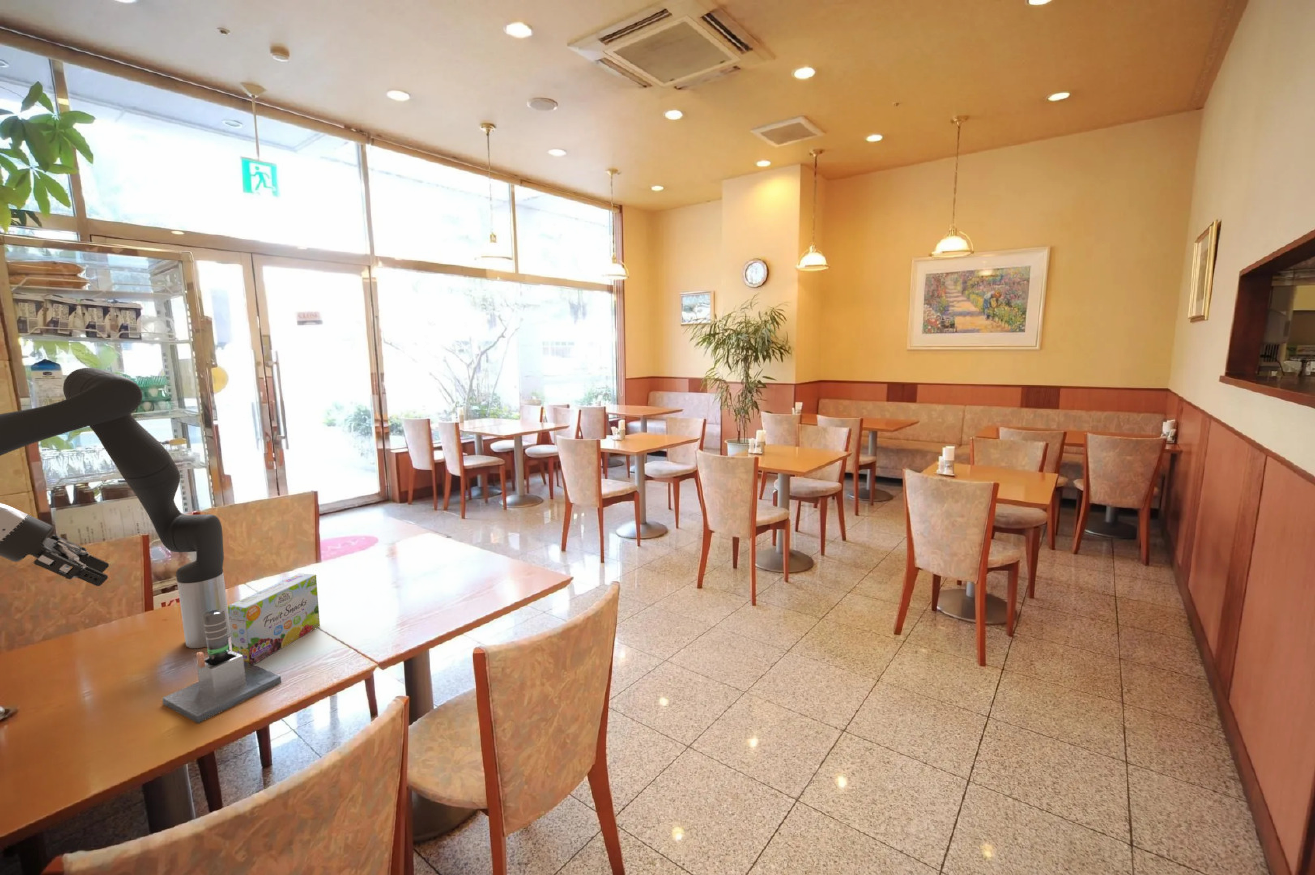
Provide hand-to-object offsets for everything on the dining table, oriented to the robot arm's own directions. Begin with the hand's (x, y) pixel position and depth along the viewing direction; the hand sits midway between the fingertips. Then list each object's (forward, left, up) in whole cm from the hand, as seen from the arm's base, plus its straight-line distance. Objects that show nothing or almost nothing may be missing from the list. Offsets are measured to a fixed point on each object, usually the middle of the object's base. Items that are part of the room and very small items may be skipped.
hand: (104, 575), depth 110 cm
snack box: (-3, +32, -31) cm, 45 cm away
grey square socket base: (+8, +14, -31) cm, 34 cm away
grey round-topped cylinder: (+8, +14, -25) cm, 29 cm away
